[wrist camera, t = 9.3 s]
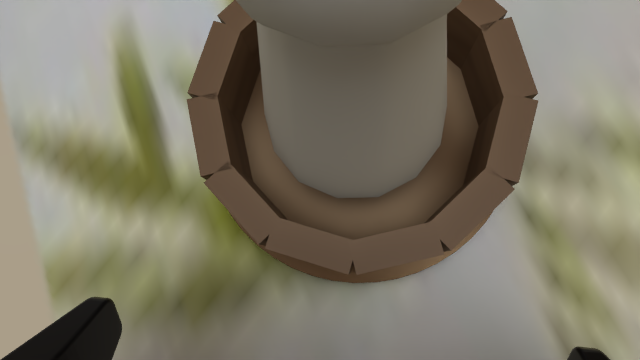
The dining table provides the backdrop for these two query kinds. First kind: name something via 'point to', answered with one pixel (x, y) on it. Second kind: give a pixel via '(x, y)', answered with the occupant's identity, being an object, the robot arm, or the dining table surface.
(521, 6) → the dining table surface
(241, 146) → the collar stand
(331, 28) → the salt shaker
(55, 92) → the dining table surface
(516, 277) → the dining table surface
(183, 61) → the dining table surface
